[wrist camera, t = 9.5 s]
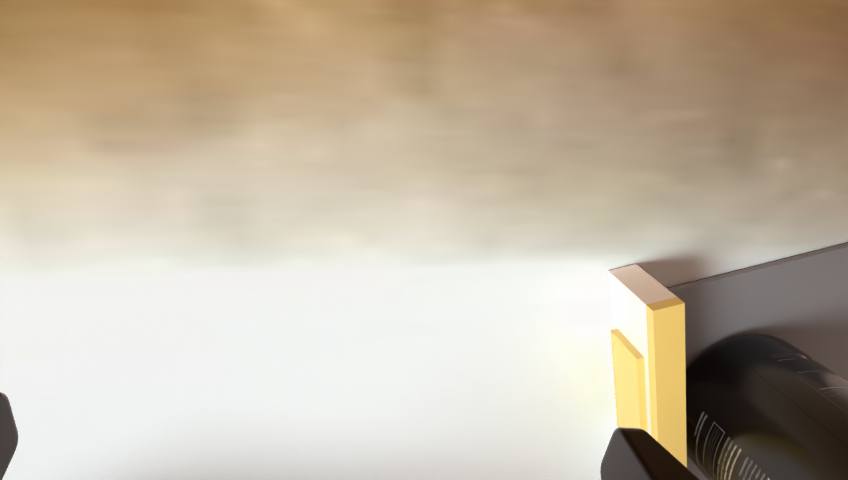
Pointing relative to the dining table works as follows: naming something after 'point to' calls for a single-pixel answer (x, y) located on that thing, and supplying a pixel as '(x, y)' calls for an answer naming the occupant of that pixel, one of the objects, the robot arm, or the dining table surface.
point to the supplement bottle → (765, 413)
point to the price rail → (649, 357)
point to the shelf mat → (774, 308)
